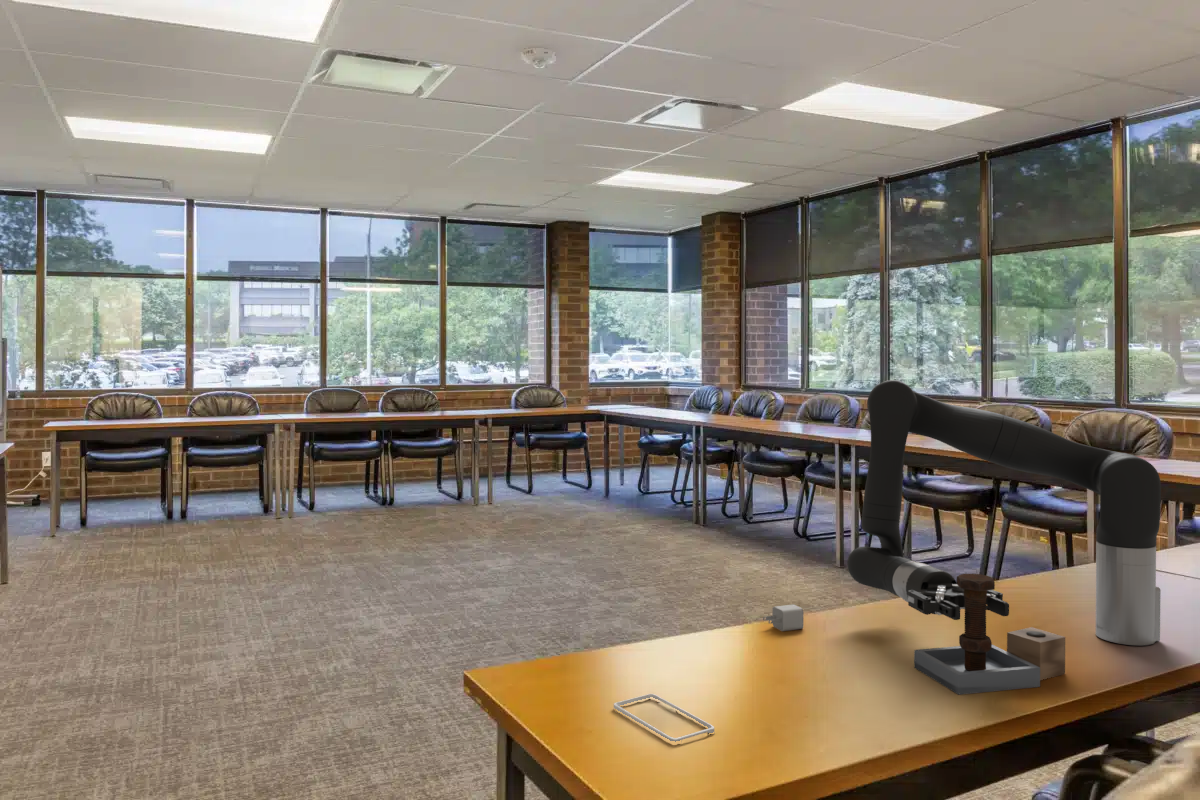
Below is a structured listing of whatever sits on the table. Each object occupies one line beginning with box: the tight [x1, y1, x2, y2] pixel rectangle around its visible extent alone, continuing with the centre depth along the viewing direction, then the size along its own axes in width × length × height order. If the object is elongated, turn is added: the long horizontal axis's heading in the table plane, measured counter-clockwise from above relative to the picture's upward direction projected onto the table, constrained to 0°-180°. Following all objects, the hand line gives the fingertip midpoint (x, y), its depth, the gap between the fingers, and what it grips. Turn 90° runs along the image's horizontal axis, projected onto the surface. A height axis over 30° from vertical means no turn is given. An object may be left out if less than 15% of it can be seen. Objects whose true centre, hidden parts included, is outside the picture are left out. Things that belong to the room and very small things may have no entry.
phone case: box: [613, 693, 715, 742], centre depth 122 cm, size 7×1×15 cm
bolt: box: [956, 573, 996, 671], centre depth 137 cm, size 6×5×15 cm
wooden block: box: [1006, 626, 1066, 681], centre depth 139 cm, size 6×6×6 cm
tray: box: [913, 644, 1041, 696], centre depth 137 cm, size 14×12×3 cm
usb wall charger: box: [762, 603, 804, 632], centre depth 164 cm, size 4×7×4 cm, turn 109°
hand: (982, 611), depth 135 cm, fingers open, 8 cm apart
